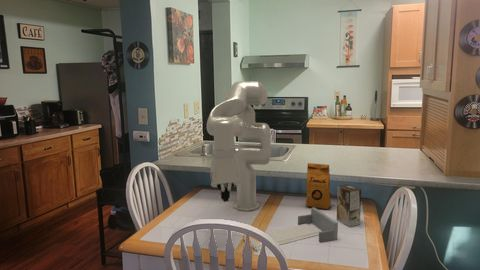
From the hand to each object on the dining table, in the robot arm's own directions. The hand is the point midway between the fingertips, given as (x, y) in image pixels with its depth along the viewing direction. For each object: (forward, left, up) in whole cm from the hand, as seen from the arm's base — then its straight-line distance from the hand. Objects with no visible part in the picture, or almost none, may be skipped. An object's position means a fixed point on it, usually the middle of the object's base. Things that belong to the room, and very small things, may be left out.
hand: (225, 200), depth 137 cm
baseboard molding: (+1, +24, -20) cm, 31 cm away
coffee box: (-4, +58, -19) cm, 61 cm away
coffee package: (-26, +56, -19) cm, 64 cm away
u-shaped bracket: (0, +39, -19) cm, 43 cm away
